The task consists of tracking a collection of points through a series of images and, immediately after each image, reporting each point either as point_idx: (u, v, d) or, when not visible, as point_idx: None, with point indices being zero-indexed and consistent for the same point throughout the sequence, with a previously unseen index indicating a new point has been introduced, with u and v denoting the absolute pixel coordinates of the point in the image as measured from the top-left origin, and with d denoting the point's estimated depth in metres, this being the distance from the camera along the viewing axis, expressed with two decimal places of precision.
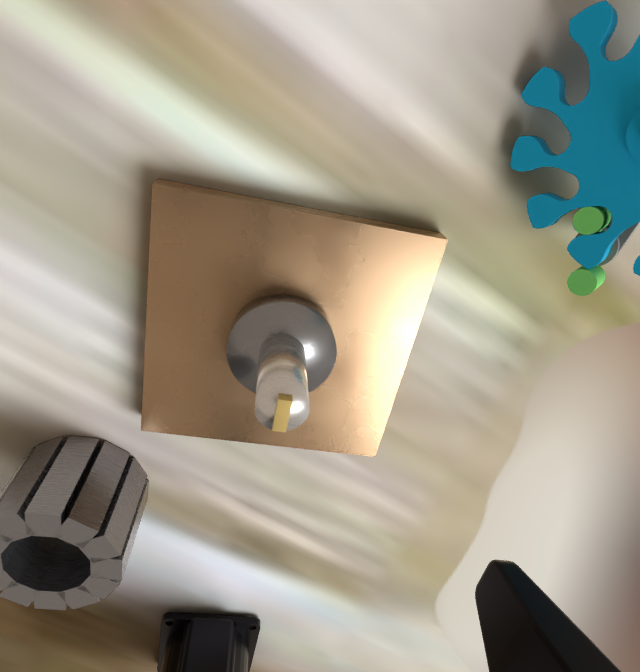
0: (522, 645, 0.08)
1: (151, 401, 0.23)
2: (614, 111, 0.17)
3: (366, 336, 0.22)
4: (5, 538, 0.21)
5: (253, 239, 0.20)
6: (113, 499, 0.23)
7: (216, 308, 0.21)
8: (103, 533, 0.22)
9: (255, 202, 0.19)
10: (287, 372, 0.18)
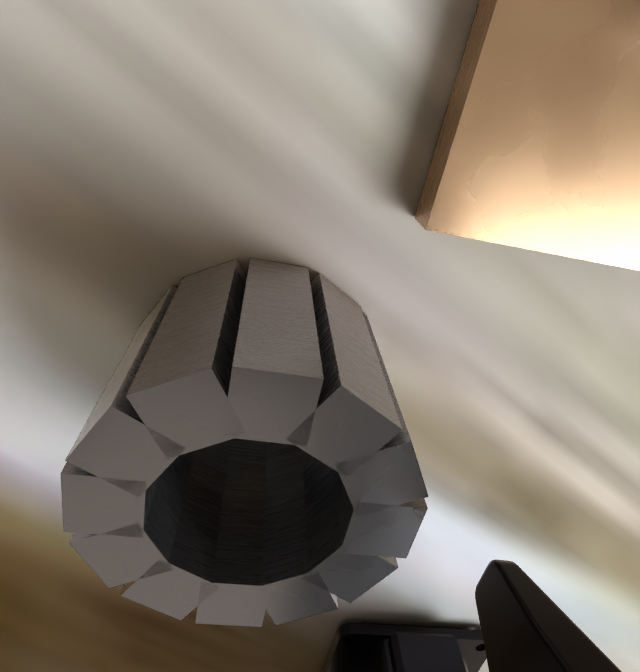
0: (522, 645, 0.08)
1: (471, 147, 0.10)
2: None
3: None
4: (166, 445, 0.08)
5: None
6: None
7: None
8: (405, 437, 0.09)
9: None
10: None
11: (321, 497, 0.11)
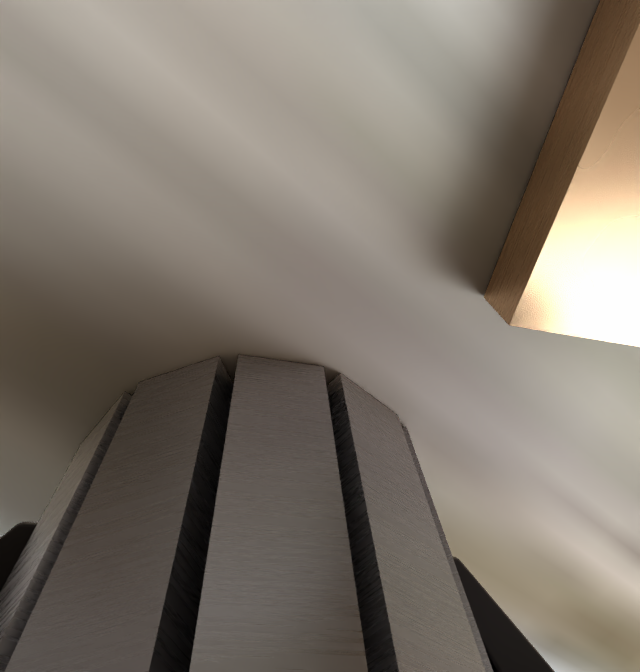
0: None
1: (594, 202, 0.06)
2: None
3: None
4: None
5: None
6: None
7: None
8: None
9: None
10: None
11: None
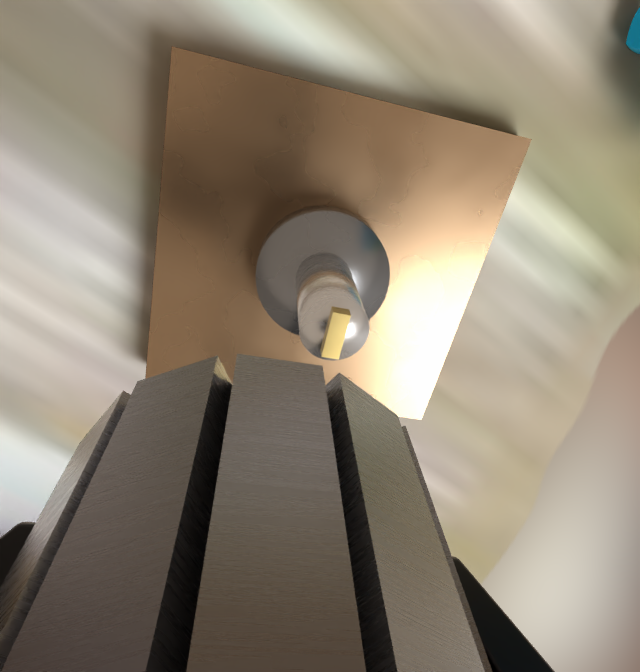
0: None
1: (159, 342, 0.19)
2: None
3: (423, 265, 0.18)
4: None
5: (294, 129, 0.16)
6: None
7: (244, 221, 0.17)
8: None
9: (299, 79, 0.15)
10: (340, 285, 0.14)
11: None
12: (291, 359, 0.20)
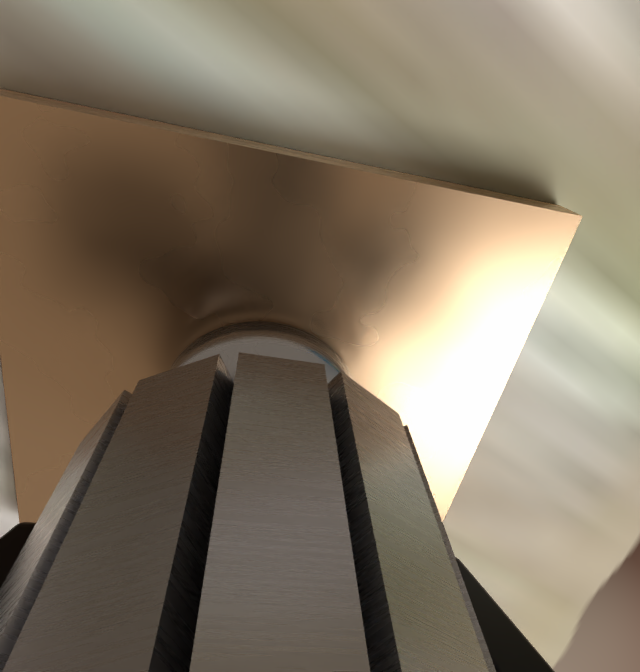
0: None
1: (33, 504, 0.13)
2: None
3: (413, 394, 0.12)
4: None
5: (198, 214, 0.10)
6: None
7: (134, 347, 0.11)
8: None
9: (199, 135, 0.09)
10: None
11: None
12: None
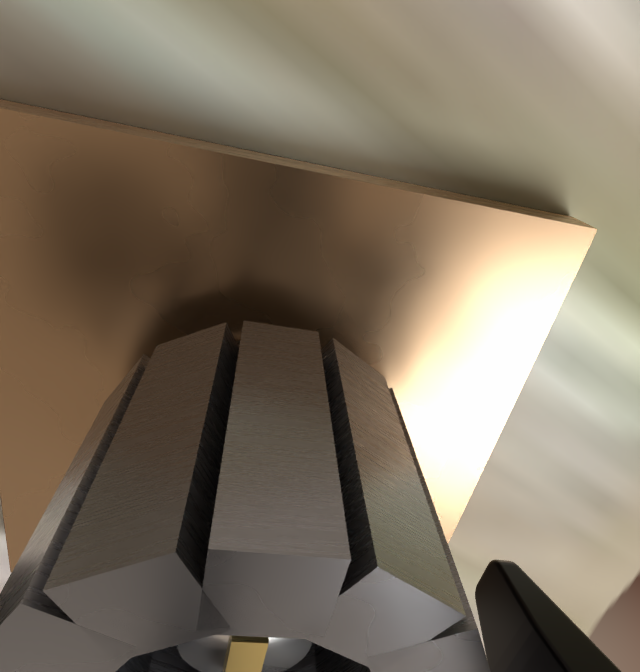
0: (522, 645, 0.08)
1: (21, 527, 0.13)
2: None
3: (418, 413, 0.12)
4: (111, 646, 0.05)
5: (192, 228, 0.09)
6: None
7: (126, 366, 0.11)
8: (467, 619, 0.06)
9: (192, 145, 0.09)
10: None
11: None
12: None
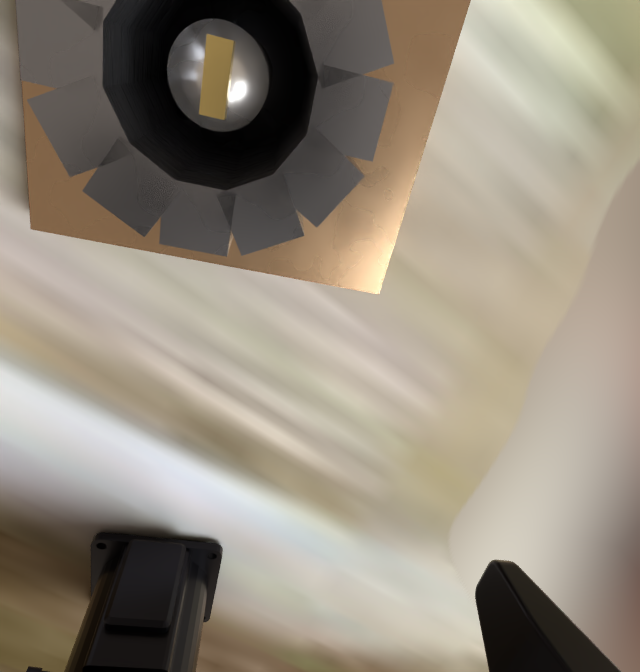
0: (522, 645, 0.08)
1: (41, 175, 0.15)
2: None
3: None
4: None
5: None
6: None
7: None
8: None
9: None
10: None
11: (291, 140, 0.11)
12: None
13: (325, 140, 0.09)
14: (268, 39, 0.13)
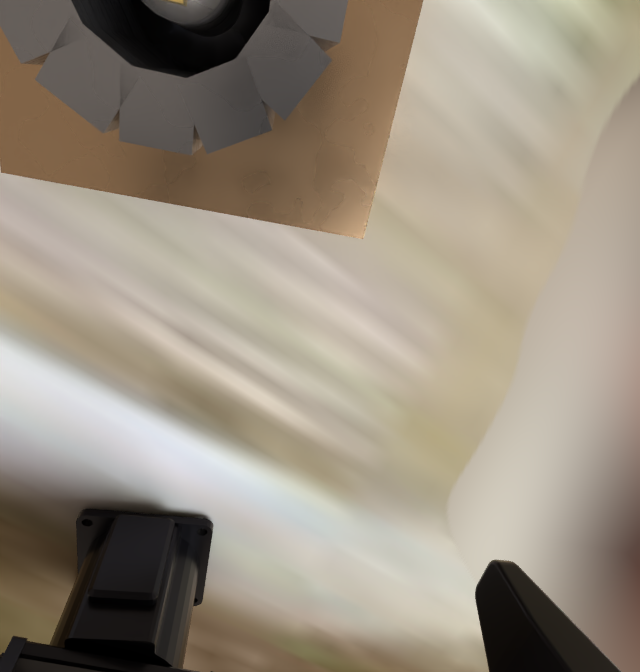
0: (522, 645, 0.08)
1: (10, 113, 0.15)
2: None
3: None
4: None
5: None
6: None
7: None
8: None
9: None
10: None
11: None
12: None
13: (288, 18, 0.09)
14: None
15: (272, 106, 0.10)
